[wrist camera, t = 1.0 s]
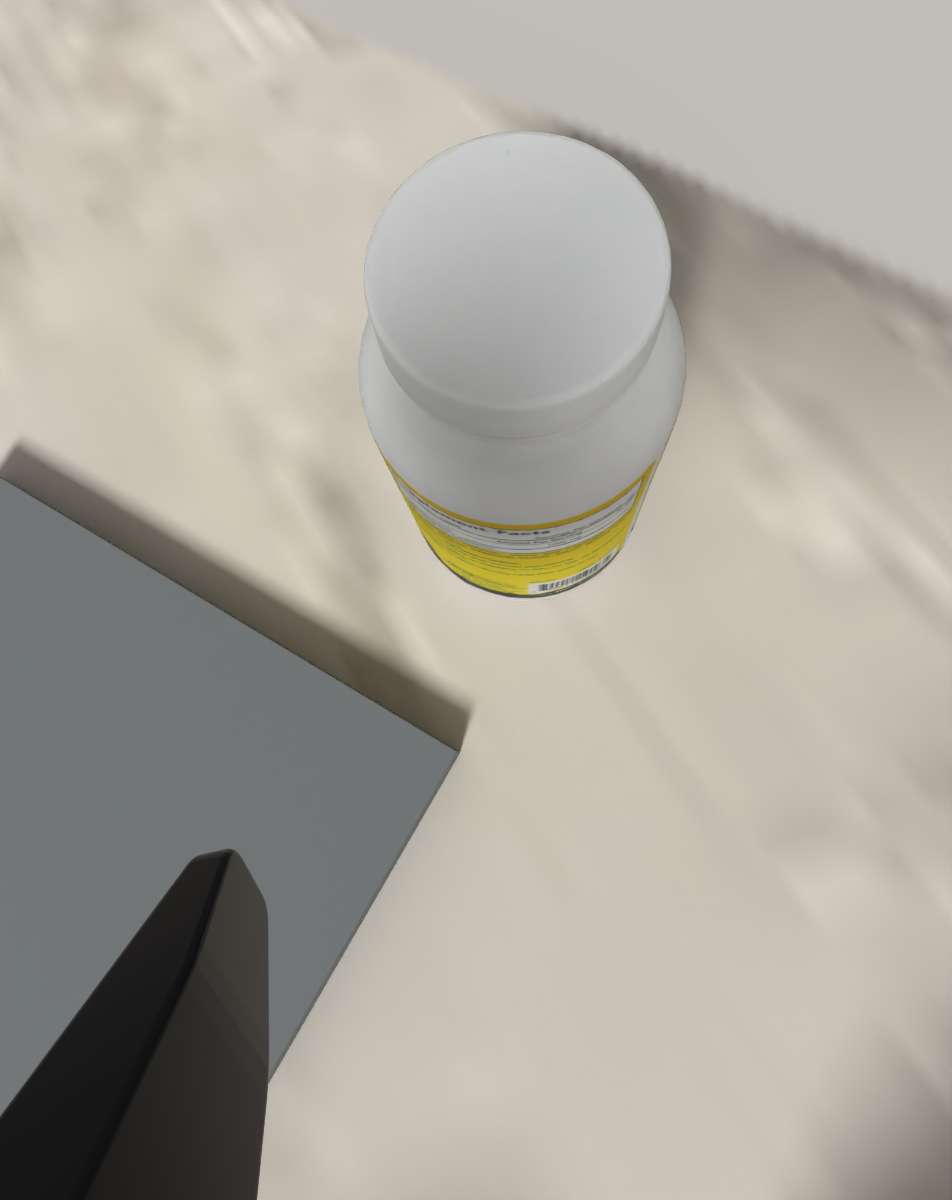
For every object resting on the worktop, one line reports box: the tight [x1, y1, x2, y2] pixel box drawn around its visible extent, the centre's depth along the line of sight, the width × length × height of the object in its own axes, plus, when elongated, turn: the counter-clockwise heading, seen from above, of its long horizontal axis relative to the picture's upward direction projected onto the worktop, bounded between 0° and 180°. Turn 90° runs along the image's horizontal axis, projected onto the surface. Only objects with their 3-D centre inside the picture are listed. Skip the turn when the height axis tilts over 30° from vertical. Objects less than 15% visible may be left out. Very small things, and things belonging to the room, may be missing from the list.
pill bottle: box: [359, 131, 686, 601], centre depth 17 cm, size 6×6×11 cm
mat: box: [0, 477, 460, 1115], centre depth 21 cm, size 16×14×1 cm
